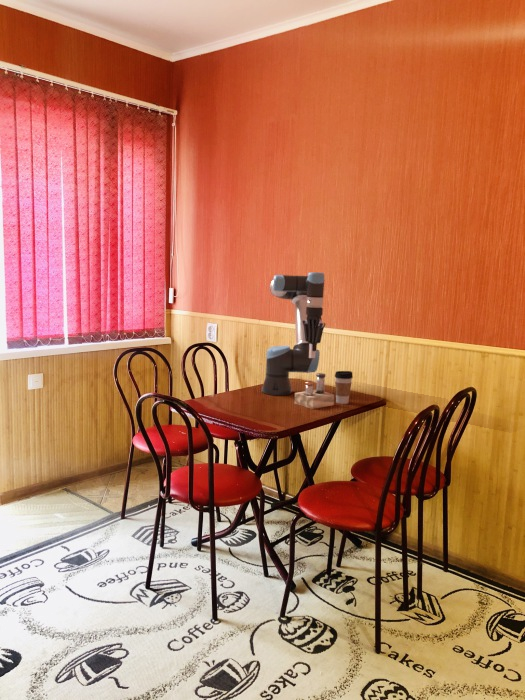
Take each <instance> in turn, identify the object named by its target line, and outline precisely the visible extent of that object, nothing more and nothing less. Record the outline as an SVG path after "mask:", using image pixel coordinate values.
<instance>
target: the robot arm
mask: <svg viewBox="0 0 525 700" xmlns="http://www.w3.org/2000/svg"><path fill="white" fill-rule="evenodd" d="M324 289H325V273H324V272H320V271H319V272H313V271H311V272H308V273H307V275H289V274H275V275H273V278H272V281H271V282H270V284H269V291H270V293H271V294H272V295H273V296H274V297H276V298H279V299H281V300H291V304H292V305H294V324H295V344H294V345H293V347H292V348H291V347H290V346H289V345H278V346H276V345H275V346H272V347H269V348H268V349H267V350H266V357H265V360H266V363H265V366H266V367H265V378H264V382H263V384H262V386H261V392H262V394H266V395H271V396H287V395H291V394H292V390H293V389H292V386H291V382H290V378H289V377H290V373H305V374H306V373H307V374H310V373H315V372H317V370H318V367H319V363H320V362H319V361H320V350H319V349H317V345H318V344H320V343H321V341H322V336H323V333H324V328H325V326H326V323H325V322H323V321H322V316H323V312H324V309H323V306H324V294H325V293H324V292H325V291H324Z"/></svg>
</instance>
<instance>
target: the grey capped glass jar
mask: <svg viewBox="0 0 525 700" xmlns="http://www.w3.org/2000/svg"><path fill="white" fill-rule="evenodd" d="M326 376H327V375H326V373H321V372H320V373H319V372H318V373H316V389H315V390H316V393H318V394H323V393H324V392H325V382H326V381H325V379H326Z"/></svg>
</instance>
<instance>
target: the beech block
mask: <svg viewBox="0 0 525 700" xmlns="http://www.w3.org/2000/svg"><path fill="white" fill-rule="evenodd" d="M293 403H294V404H295V405H298V406H302V407H304V408H308V409H311V410H314V409H320V408H326V407H329V406H334V405H335V394H333V393H330V392H326V391H324V393H323V394H318V393H316V389H313V396H307V395H305V390H304V391H299V392H294V402H293Z"/></svg>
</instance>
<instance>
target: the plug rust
mask: <svg viewBox="0 0 525 700" xmlns="http://www.w3.org/2000/svg"><path fill="white" fill-rule="evenodd" d="M304 384H305V390H304V391H305V395H307V396H313V390H314V386H315V381H311V380H306V381H305V382H304Z"/></svg>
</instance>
